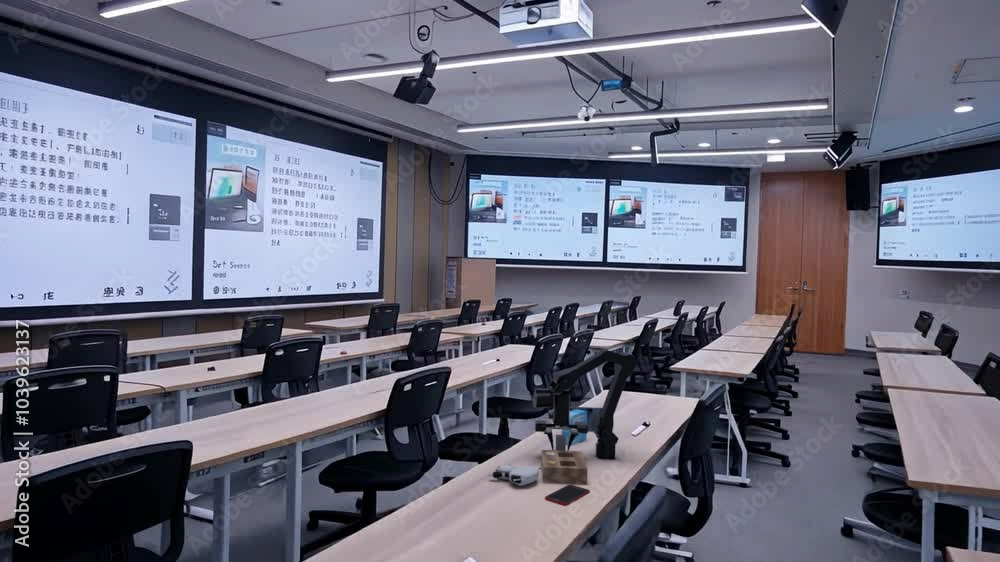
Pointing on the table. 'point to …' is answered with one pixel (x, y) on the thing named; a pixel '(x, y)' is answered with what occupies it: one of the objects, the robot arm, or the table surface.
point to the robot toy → (516, 474)
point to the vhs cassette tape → (588, 414)
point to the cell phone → (567, 495)
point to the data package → (573, 418)
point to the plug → (560, 443)
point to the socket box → (563, 467)
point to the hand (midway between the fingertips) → (560, 450)
